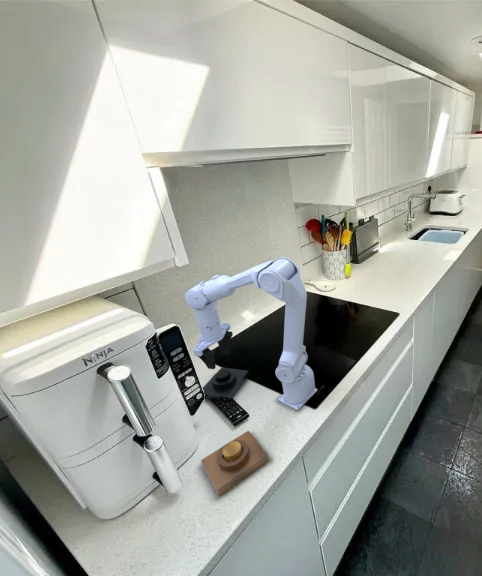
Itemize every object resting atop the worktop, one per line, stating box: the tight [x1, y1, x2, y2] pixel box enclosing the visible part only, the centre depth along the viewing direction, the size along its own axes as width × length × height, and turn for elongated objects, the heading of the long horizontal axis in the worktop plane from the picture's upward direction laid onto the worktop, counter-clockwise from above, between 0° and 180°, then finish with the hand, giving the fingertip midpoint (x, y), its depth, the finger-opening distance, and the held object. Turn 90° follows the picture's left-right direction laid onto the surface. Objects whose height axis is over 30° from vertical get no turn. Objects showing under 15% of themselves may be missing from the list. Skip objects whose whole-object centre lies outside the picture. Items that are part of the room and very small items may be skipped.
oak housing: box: [200, 430, 269, 497], centre depth 75 cm, size 12×10×4 cm
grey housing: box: [202, 367, 250, 403], centre depth 98 cm, size 12×10×4 cm
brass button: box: [223, 441, 242, 461], centre depth 73 cm, size 4×4×2 cm
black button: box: [214, 369, 230, 382], centre depth 97 cm, size 4×4×2 cm
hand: (218, 360), depth 95 cm, fingers open, 6 cm apart
